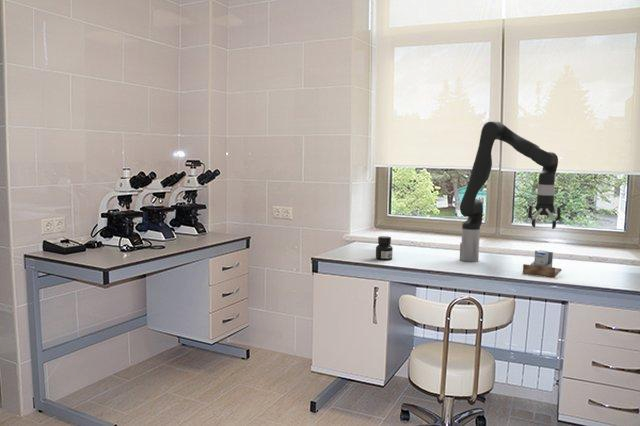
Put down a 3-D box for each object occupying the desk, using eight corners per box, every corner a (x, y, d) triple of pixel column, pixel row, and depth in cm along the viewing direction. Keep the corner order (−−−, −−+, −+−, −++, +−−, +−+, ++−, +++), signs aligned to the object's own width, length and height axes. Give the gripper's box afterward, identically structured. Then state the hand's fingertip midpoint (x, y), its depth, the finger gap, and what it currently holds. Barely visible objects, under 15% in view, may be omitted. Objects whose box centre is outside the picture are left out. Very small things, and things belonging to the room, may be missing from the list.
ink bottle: (383, 261, 278) (384, 238, 276) (371, 258, 284) (372, 236, 283) (396, 259, 284) (396, 237, 283) (383, 257, 291) (384, 235, 289)
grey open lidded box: (529, 272, 252) (530, 253, 251) (534, 268, 262) (535, 250, 261) (547, 274, 248) (549, 255, 247) (551, 270, 258) (552, 252, 257)
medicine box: (538, 267, 259) (539, 250, 259) (547, 268, 257) (548, 251, 256) (534, 270, 253) (535, 252, 252) (544, 271, 250) (545, 253, 250)
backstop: (522, 273, 252) (523, 264, 252) (531, 266, 272) (532, 257, 271) (554, 277, 245) (554, 268, 244) (561, 269, 264) (561, 260, 264)
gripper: (528, 193, 252) (526, 227, 253) (560, 195, 244) (558, 230, 246) (531, 193, 258) (529, 226, 260) (563, 194, 250) (560, 228, 252)
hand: (543, 228), depth 253 cm, fingers open, 8 cm apart
